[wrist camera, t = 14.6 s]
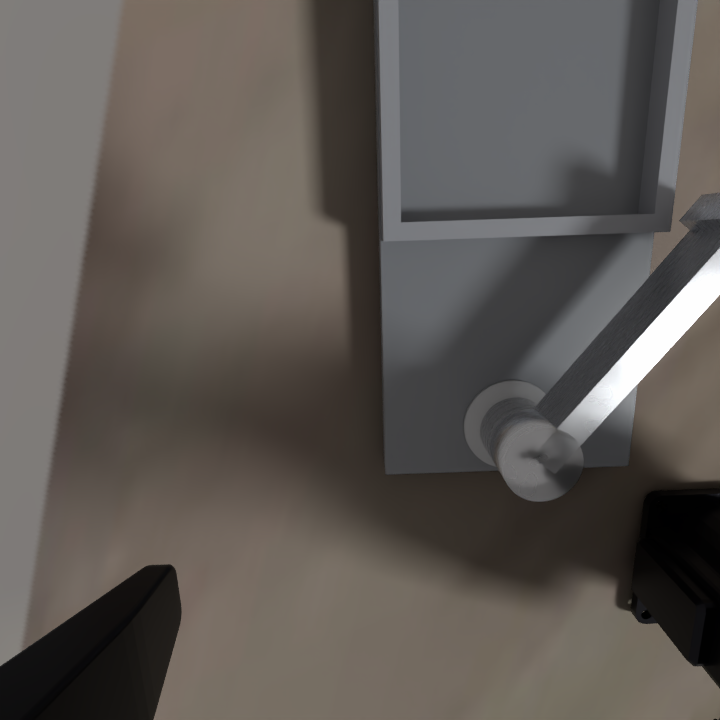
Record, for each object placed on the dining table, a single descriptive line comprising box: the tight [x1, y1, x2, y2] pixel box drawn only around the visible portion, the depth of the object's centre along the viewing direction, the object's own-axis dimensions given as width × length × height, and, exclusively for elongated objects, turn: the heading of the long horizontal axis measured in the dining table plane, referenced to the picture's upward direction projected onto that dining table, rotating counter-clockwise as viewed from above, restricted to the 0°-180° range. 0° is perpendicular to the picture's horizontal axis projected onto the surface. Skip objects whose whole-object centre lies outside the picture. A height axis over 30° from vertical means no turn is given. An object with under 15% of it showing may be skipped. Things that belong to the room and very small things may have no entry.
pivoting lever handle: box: [480, 193, 720, 502], centre depth 17 cm, size 3×11×3 cm, turn 143°
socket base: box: [373, 0, 698, 475], centre depth 17 cm, size 10×25×2 cm, turn 2°
